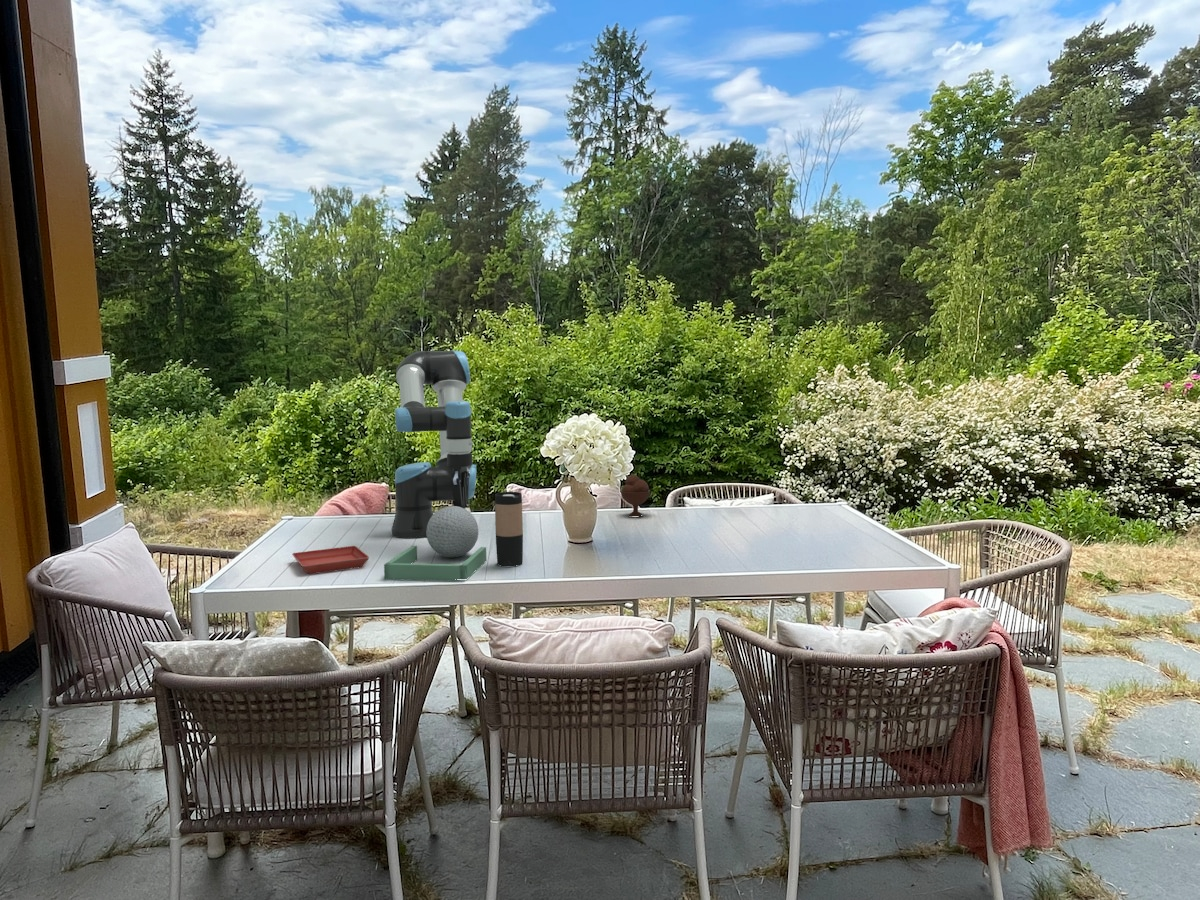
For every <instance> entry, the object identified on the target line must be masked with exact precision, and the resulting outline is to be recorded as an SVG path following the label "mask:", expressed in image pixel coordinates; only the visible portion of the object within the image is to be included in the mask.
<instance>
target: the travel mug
mask: <svg viewBox="0 0 1200 900" xmlns="http://www.w3.org/2000/svg"><path fill="white" fill-rule="evenodd" d="M522 495H523V494H522V493H521V492H518V491H503V492H502V491H501V492H497V493H495V494H494V508H495V509H494V511H495V512H494V513H495V516H494V517H495V525H494V526H495V546H496V547H495V548H496V549H495V550H496V563H497V565H498V564H499V565H501V566H500V567H502V566H514V567H517V566H516V565H519V566H521V565H523V563H524V562H523V561H524V560H523V559H524V558H523V556H524V552H523V551H524V523H523V496H522ZM499 565H498V566H499Z"/></svg>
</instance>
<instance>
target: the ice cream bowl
mask: <svg viewBox="0 0 1200 900" xmlns="http://www.w3.org/2000/svg"><path fill="white" fill-rule="evenodd" d="M624 483H625V485H624V486H623V487H622V489H621V490H620V495H621V498H622V499H623V500H624V501H625V502H626V503H627V504H630V505H631V506H632V508H633V509H632V512H630V513H629V514H628V515H629V516H641V515H642V512H639V506H640V505H642V504H643V503H645V502H646V501H647V500H648V499H649V497H650V494H651V489H650V488H649V487H650V486H649V485H648V483H647V482H646V481H645V480H644V479H641V478H640V477H639V476H638V475H636V474H632V475H629V476H627V478H626V479H625V481H624ZM629 516H628V517H629Z"/></svg>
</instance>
